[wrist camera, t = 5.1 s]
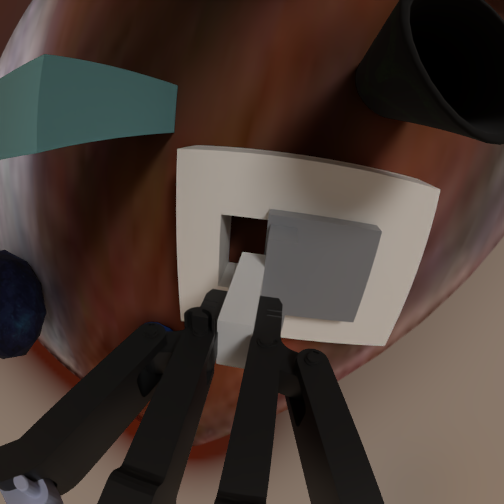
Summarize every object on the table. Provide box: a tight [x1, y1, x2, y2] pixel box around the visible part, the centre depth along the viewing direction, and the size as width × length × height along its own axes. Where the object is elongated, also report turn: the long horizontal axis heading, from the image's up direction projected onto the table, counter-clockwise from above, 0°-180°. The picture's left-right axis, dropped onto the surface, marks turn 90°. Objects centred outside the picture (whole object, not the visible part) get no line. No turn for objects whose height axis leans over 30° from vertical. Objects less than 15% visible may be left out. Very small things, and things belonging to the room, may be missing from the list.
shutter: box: [261, 209, 382, 330], centre depth 17 cm, size 7×7×4 cm
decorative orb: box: [0, 250, 46, 359], centre depth 24 cm, size 14×15×15 cm
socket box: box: [176, 145, 440, 346], centre depth 21 cm, size 14×18×4 cm
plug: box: [0, 54, 178, 160], centre depth 13 cm, size 4×4×14 cm
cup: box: [355, 0, 504, 145], centre depth 11 cm, size 8×8×12 cm
